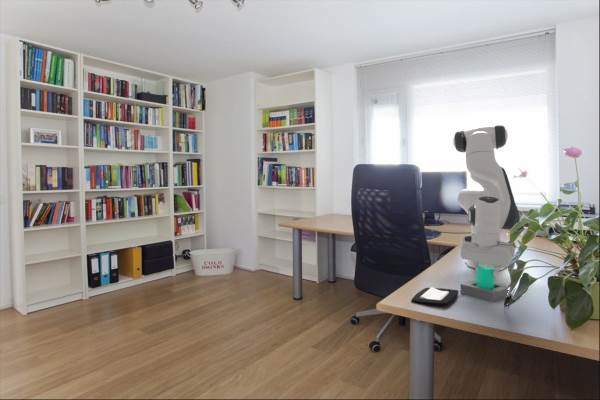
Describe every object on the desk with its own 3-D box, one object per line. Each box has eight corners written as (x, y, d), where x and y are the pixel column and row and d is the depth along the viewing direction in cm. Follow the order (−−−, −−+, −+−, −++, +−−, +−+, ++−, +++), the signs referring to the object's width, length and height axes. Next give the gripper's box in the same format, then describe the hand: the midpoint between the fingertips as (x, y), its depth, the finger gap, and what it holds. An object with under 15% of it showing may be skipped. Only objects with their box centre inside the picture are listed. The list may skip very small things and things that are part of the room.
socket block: (479, 287, 156) (479, 278, 156) (511, 295, 145) (512, 286, 145) (460, 292, 149) (460, 283, 149) (492, 302, 138) (492, 292, 138)
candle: (496, 296, 144) (498, 265, 143) (481, 297, 144) (482, 265, 143) (488, 291, 150) (489, 261, 149) (473, 292, 150) (474, 262, 149)
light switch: (424, 284, 154) (460, 287, 146) (425, 291, 155) (461, 294, 146) (407, 297, 138) (447, 301, 130) (408, 305, 138) (448, 310, 130)
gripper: (519, 242, 138) (517, 279, 139) (468, 234, 155) (467, 268, 157) (510, 244, 135) (508, 282, 136) (458, 236, 152) (457, 270, 153)
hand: (485, 274), depth 146 cm, fingers closed on candle, 5 cm apart
